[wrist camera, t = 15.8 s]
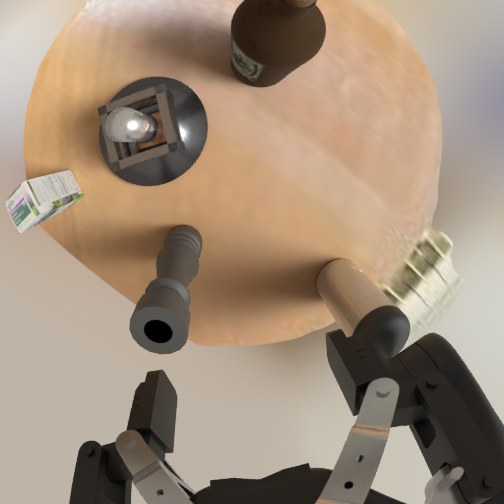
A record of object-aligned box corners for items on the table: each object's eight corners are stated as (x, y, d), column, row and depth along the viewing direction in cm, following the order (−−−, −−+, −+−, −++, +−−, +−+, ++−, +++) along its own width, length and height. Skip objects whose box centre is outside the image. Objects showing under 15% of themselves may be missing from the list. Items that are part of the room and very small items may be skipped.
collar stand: (194, 65, 37) (189, 47, 28) (219, 167, 43) (219, 173, 35) (93, 101, 36) (67, 94, 27) (117, 198, 43) (95, 211, 34)
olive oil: (270, 27, 35) (316, -56, 12) (303, 75, 39) (381, 21, 16) (214, 52, 36) (213, -32, 13) (248, 102, 40) (283, 54, 17)
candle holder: (161, 249, 47) (120, 341, 24) (175, 218, 46) (136, 292, 23) (193, 264, 49) (177, 364, 26) (208, 234, 47) (201, 320, 24)
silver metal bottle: (167, 119, 38) (144, 108, 25) (159, 145, 39) (133, 146, 27) (142, 114, 37) (109, 103, 24) (134, 140, 39) (99, 139, 26)
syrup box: (64, 211, 42) (20, 237, 29) (50, 185, 40) (2, 203, 27) (85, 194, 42) (41, 215, 28) (70, 167, 40) (22, 179, 26)
